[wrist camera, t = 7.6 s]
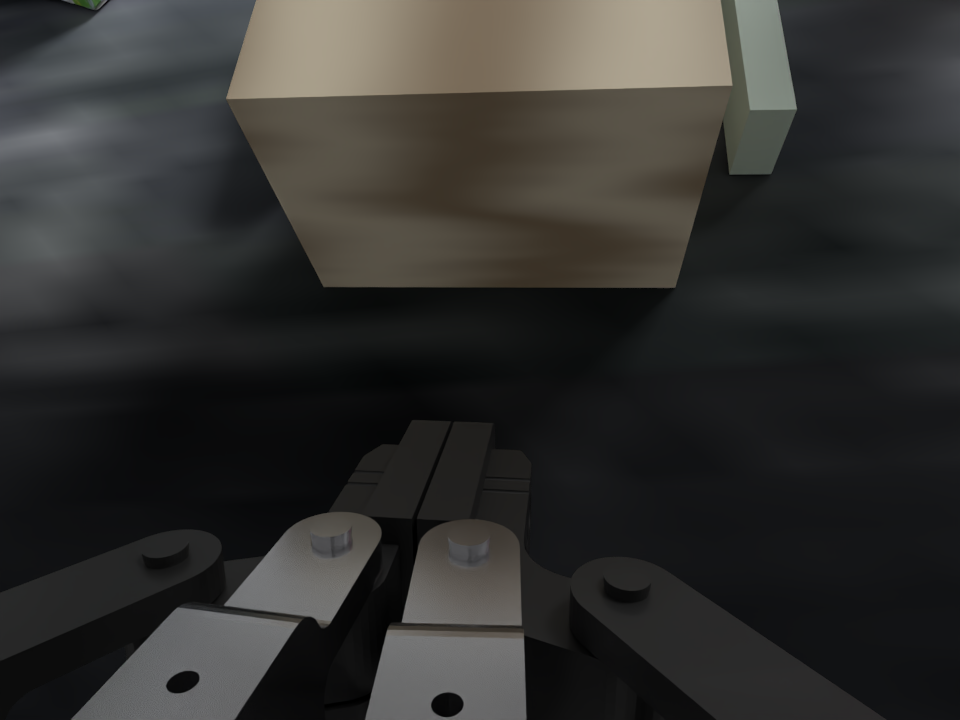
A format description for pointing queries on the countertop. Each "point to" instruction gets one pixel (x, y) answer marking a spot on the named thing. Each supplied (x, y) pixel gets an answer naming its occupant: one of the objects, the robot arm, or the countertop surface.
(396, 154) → the tee block
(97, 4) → the syrup box
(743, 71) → the pocket
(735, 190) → the countertop surface
